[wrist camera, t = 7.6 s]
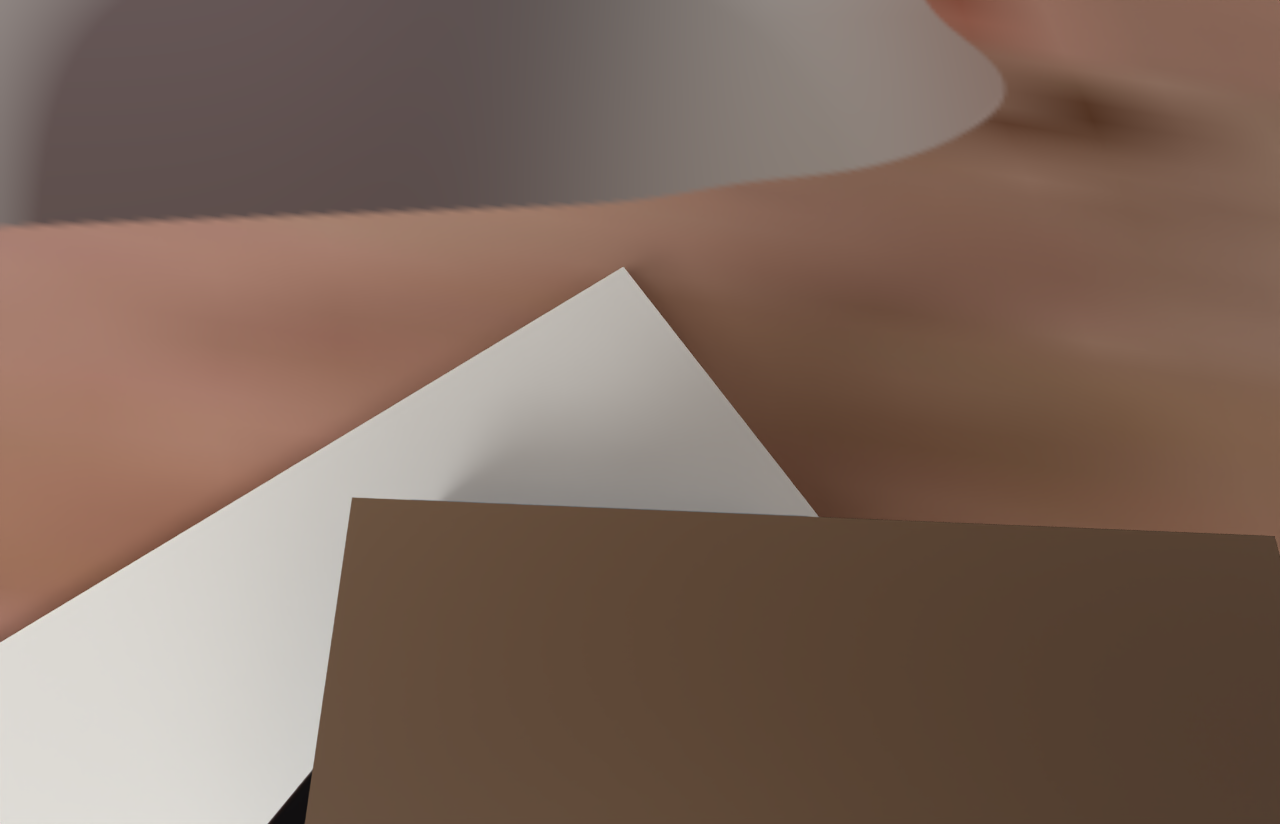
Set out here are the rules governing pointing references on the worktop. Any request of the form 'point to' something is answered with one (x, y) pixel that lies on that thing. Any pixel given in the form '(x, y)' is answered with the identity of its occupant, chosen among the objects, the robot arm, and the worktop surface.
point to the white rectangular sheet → (312, 562)
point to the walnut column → (793, 671)
